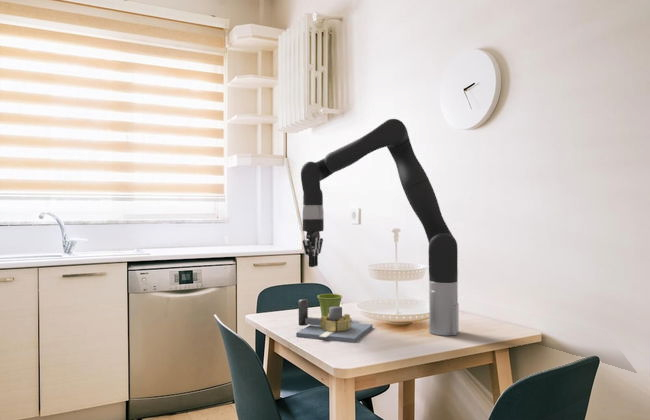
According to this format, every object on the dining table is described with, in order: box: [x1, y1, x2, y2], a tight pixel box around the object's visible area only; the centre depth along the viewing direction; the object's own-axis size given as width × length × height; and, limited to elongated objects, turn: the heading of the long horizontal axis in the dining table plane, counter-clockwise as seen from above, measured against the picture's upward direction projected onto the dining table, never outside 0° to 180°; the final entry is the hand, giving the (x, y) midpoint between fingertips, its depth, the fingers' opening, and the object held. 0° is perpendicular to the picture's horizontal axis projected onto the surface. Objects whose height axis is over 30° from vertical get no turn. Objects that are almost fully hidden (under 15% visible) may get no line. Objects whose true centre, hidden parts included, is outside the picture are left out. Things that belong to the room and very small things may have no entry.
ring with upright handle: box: [298, 298, 352, 331], centre depth 166 cm, size 19×10×8 cm, turn 68°
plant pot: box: [316, 293, 343, 317], centre depth 184 cm, size 9×9×9 cm
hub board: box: [295, 306, 374, 343], centre depth 163 cm, size 20×22×8 cm
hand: (313, 266), depth 174 cm, fingers closed
